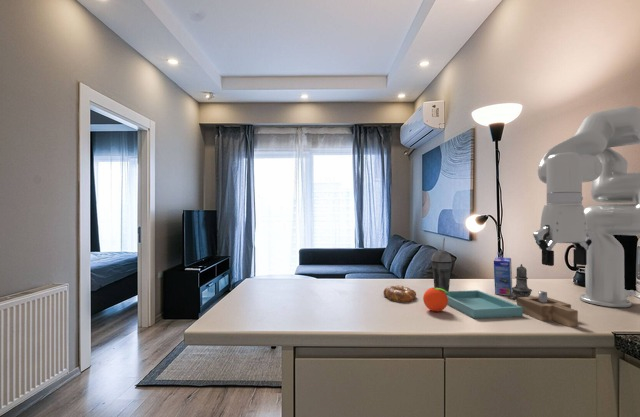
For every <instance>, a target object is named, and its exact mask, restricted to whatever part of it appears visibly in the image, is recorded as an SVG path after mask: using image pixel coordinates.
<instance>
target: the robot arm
mask: <svg viewBox="0 0 640 417" xmlns="http://www.w3.org/2000/svg"><path fill="white" fill-rule="evenodd" d="M632 145H640V107H638V106H633V105H628V106H622V107H616V108H613V109H608V110H602V111H598V112H594V113H592V114H589V115H588V116H586V117H585V118H584V119H583V121H582V122H581V124H580V126H578V129H577V131H576V132H575V134H574V136H571V137H569V138H568V139H566V140H563V141H561V142H559V143H558V144H557V145H554V146H553V147H551V148H550V149H549V150H548V151H547V152H546V153H545V154H544V155H543V157H542V158H541V160H540V162H539V163H538V168H537V176H538V179H539V180H540V181H541V182H542V183H544V184H546V205H544V206H543V208H542V212H541V218H540V226H539V227H540V228H539V229H538V230H536V231H535V232H533V233H532V236H533V238H534V240H535V243H536V245H537V246H538V247H539V249H540V250H541V265H542V266H543V265H544V266H548V267H553V266H555V251H554V250H553V249H554V247H555V246H556V244H572V245H573V246H574V248H573V250H572V251H573V253H572V254H573V255H572V256H573V261H572V262H573V264H574V265H580V266H585V268H584V269H585V273H584V274H585V276H584V277H585V278H584V279H585V282H584V284H585V293H581V294H579V299H580V301H582V302H585V303H589V304H592V305H597V306H602V307H610V308H629V307H631V306H632V302H631V301H630V300H628V299H627V298H628V297H636V295H637V293H636V291H635V290H633V289H630V290H627V289H625V249H624V247H623V245H622V243H620V241H619V240H617V238H615V235H617V236H620V235H621V236H640V171H639V172H631V173H629V172H628V165H629V164H628V163H629V162H628V160H627V159H626V158H625V157H624V156H623V155H622V154H620V153H619V152H617V151H616V150H614V149H612V148H617V147H625V146H632ZM589 182H591V189H590V195H591V199H593V201H594V202H597V203H601V204H594V205H590V206H587V207H585V208H584V205H583V200H584V197H583V183H589Z"/></svg>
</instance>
